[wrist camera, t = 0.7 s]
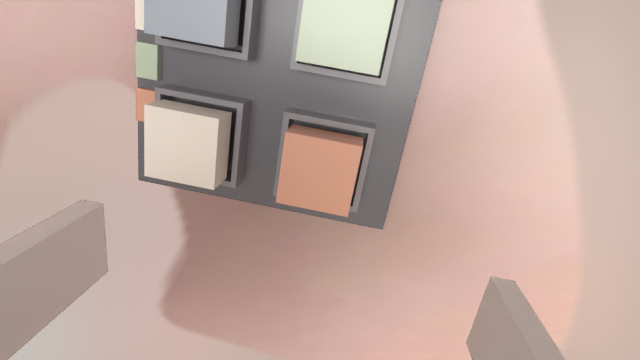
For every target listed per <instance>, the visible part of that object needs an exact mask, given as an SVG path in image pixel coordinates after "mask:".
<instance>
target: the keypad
mask: <svg viewBox="0 0 640 360" xmlns="http://www.w3.org/2000/svg"><path fill="white" fill-rule="evenodd" d="M441 1H442V0H395V2H394V6H393V11H392V15H391V20H390V25H389V29H388V34H387V38H386V43H385V48H384V52H383V57H382V61H381V66H380V71H379V75H378V76H376V75H371V74H366V73H360V72H355V71H349V70H344V69H338V68H333V67H327V66H322V65H317V64H311V63H306V62H300V61H295V58H296V51H297V44H298V37H299V29H300V22H301V15H302V7H303V0H241V9H240V21H239V33H238V45H237V47H219V46H213V45H208V44H202V43H197V42H191V41H186V40H180V39H175V38H169V37H164V36H159V35H153V34H148V33H144V0H135V29H137V41H135V61H136V77H138V87H137V88H136V120H137V121H138V147H139V148H138V154H139V156H138V161H139V180H141V181H146V182H151V183H156V184H161V185H166V186H171V187H176V188H181V189H185V190H190V191H195V192H200V193H205V194H210V195H215V196H220V197H225V198H230V199H235V200H240V201H245V202H249V203H254V204H259V205H264V206H269V207H274V208H279V209H284V210H289V211H294V212H299V213H304V214H308V215H313V216H318V217H323V218H328V219H333V220H338V221H343V222H348V223H353V224H358V225H363V226H368V227H372V228H377V229H382V230H383V226H384V222H385V218H386V214H387V210H388V207H389V203H390V199H391V195H392V191H393V187H394V183H395V179H396V176H397V172H398V168H399V164H400V160H401V156H402V152H403V148H404V145H405V141H406V137H407V133H408V129H409V125H410V121H411V117H412V114H413V110H414V106H415V102H416V98H417V94H418V90H419V87H420V83H421V79H422V75H423V71H424V67H425V63H426V59H427V56H428V52H429V48H430V44H431V40H432V36H433V32H434V28H435V25H436V21H437V17H438V13H439V9H440V5H441ZM163 99H164V100H170V101H175V102H180V103H185V104H191V105H196V106H201V107H206V108H211V109H217V110H222V111H227V112H232V117H231V129H230V141H229V154H228V166H227V178H226V179H225V180H224V181H223V182H222V183H221V184H220V185H219V186H218V187H216V188H215V189H214V190H211V189H206V188H201V187H196V186H191V185H186V184H182V183H177V182H172V181H167V180H162V179H157V178H152V177H147V176H144V104H148V103H152V102H156V101H159V100H163ZM292 124H295V125H300V126H305V127H310V128H316V129H321V130H326V131H331V132H336V133H342V134H347V135H352V136H357V137H362V138H363V149H362V153H361V158H360V163H359V167H358V172H357V176H356V181H355V186H354V190H353V195H352V199H351V204H350V209H349V213H348V217H344V216H340V215H335V214H330V213H325V212H320V211H315V210H310V209H305V208H300V207H295V206H290V205H285V204H280V203H276V197H277V190H278V182H279V175H280V168H281V160H282V153H283V146H284V139H285V132H286V131H287V130H288V128H289V127H290V126H291V125H292Z"/></svg>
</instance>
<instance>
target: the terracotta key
mask: <svg viewBox="0 0 640 360" xmlns="http://www.w3.org/2000/svg"><path fill="white" fill-rule="evenodd" d="M362 149H363V138H362V137H357V136H352V135H347V134H342V133H336V132H331V131H326V130H321V129H316V128H310V127H305V126H300V125H295V124H292V125H291V126H290V127H289V128H288V130H287V131H286V132H285V139H284V146H283V153H282V160H281V168H280V175H279V182H278V190H277V197H276V203H280V204H285V205H290V206H295V207H300V208H305V209H310V210H315V211H320V212H325V213H330V214H335V215H340V216H344V217H348V213H349V209H350V204H351V199H352V195H353V190H354V186H355V181H356V176H357V172H358V167H359V163H360V158H361V153H362Z"/></svg>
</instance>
